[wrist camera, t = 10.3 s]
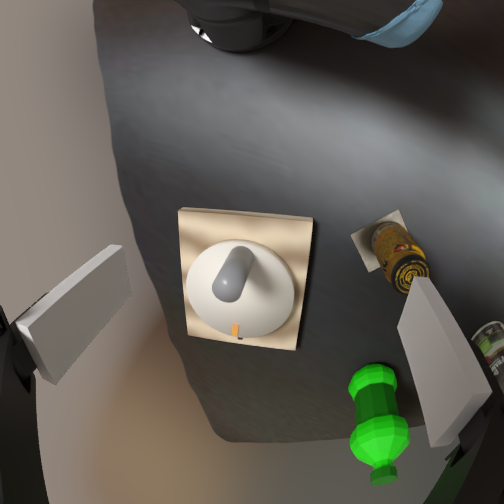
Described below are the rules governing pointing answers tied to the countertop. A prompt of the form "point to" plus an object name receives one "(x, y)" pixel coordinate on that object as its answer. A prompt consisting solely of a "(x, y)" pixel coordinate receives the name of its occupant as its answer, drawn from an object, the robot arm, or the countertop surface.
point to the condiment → (392, 251)
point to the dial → (240, 288)
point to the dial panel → (258, 230)
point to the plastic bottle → (377, 422)
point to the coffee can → (492, 347)
